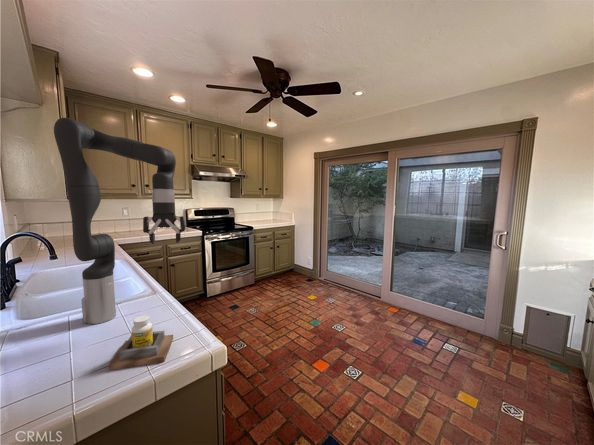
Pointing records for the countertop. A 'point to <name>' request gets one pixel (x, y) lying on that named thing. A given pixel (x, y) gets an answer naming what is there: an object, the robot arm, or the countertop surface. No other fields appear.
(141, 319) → the supplement bottle
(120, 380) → the countertop surface
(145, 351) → the socket stand
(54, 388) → the countertop surface
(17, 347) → the countertop surface
